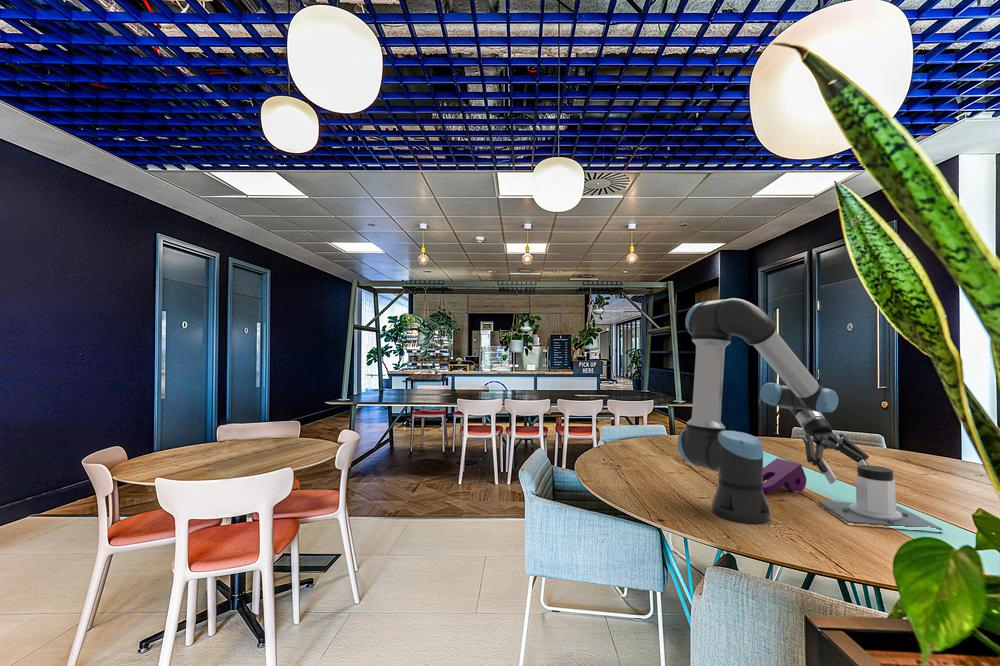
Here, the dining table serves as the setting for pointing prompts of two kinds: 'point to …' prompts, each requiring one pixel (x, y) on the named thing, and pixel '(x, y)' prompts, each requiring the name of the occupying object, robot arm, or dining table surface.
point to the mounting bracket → (783, 476)
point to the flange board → (875, 516)
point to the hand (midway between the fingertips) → (853, 481)
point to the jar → (875, 489)
